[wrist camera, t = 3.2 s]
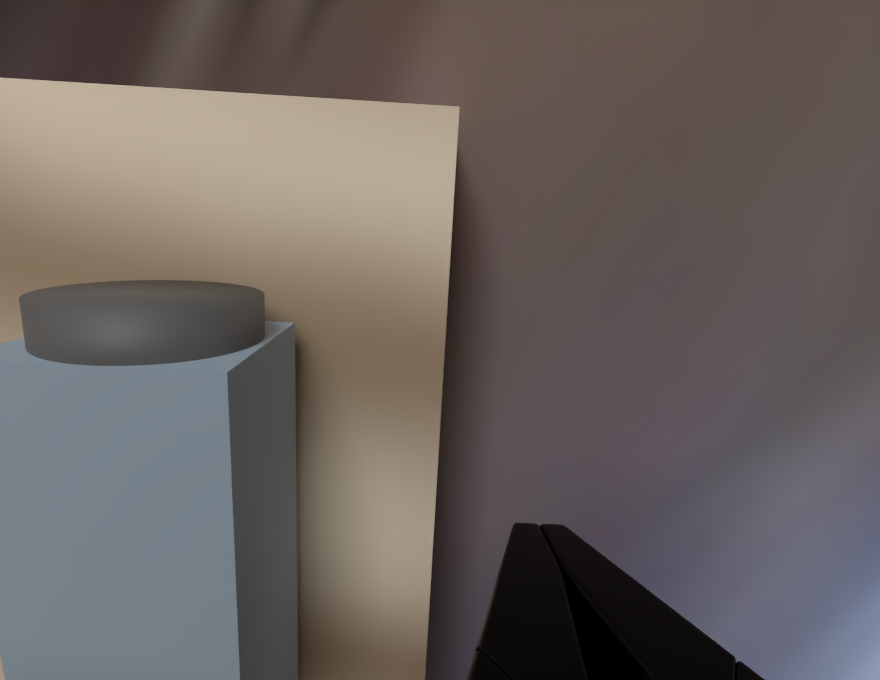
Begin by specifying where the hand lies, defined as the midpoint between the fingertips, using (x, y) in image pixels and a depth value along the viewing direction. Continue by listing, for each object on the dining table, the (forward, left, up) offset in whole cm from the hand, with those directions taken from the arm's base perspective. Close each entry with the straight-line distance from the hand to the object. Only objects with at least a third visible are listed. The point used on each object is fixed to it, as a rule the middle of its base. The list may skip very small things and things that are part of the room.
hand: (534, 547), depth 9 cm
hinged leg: (-3, +6, -1) cm, 6 cm away
